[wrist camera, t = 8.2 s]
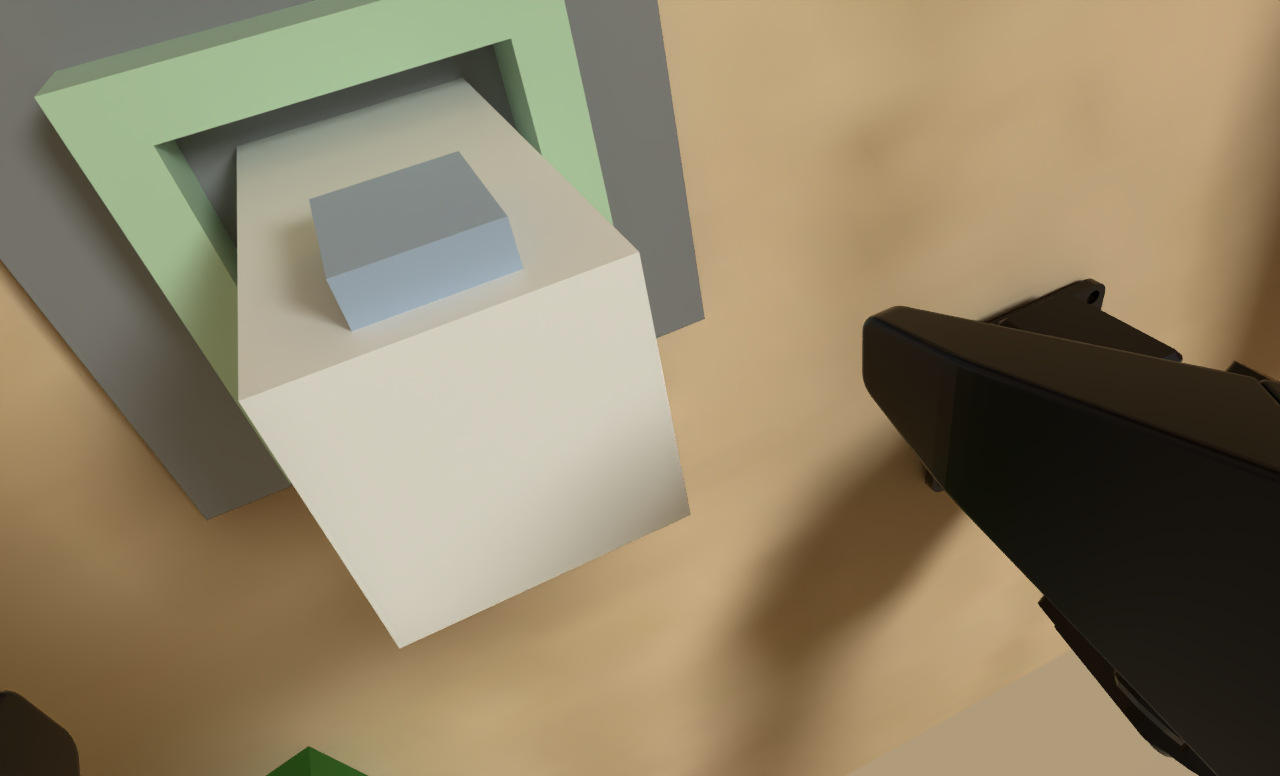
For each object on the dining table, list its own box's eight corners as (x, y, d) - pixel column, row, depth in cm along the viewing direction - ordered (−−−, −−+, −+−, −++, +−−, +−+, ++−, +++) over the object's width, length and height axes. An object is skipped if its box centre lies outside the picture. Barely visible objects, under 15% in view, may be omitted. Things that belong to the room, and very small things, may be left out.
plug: (522, 269, 16) (690, 514, 10) (335, 338, 15) (399, 648, 9) (452, 42, 13) (628, 196, 7) (218, 111, 13) (204, 348, 7)
